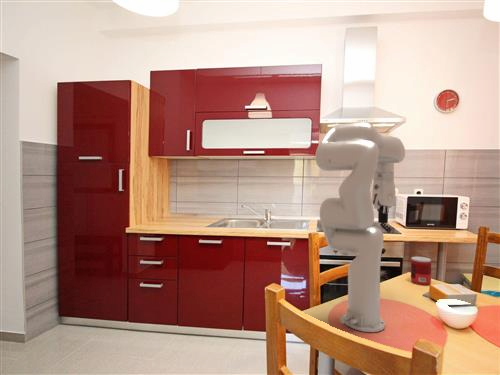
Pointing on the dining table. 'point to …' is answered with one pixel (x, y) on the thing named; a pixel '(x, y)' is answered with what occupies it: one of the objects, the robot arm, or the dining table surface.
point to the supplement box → (452, 293)
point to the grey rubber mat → (427, 295)
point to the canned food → (421, 270)
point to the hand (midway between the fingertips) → (383, 222)
